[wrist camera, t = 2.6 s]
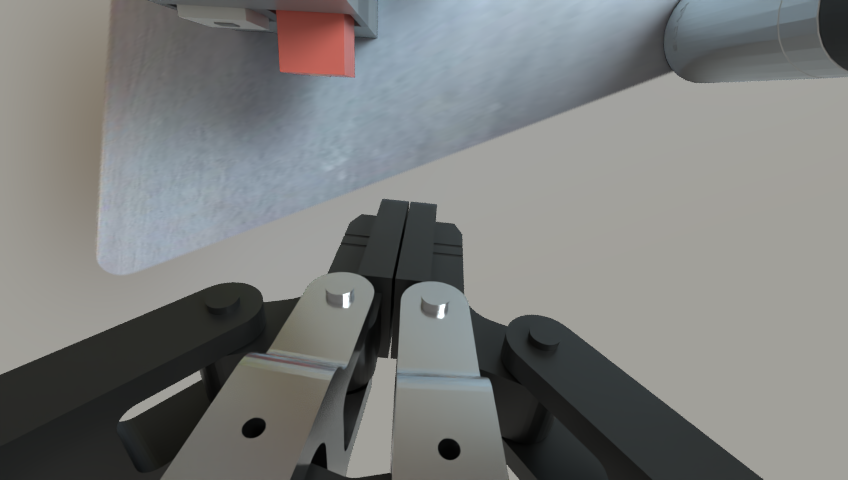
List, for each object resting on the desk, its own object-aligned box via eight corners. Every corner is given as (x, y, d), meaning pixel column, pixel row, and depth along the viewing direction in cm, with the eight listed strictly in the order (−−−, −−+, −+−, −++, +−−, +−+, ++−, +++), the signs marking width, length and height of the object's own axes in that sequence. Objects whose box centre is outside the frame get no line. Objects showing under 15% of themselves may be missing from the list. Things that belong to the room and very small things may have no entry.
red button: (354, -3, 33) (343, -18, 29) (354, 78, 35) (344, 76, 31) (294, -6, 33) (274, -22, 29) (298, 75, 35) (279, 73, 31)
